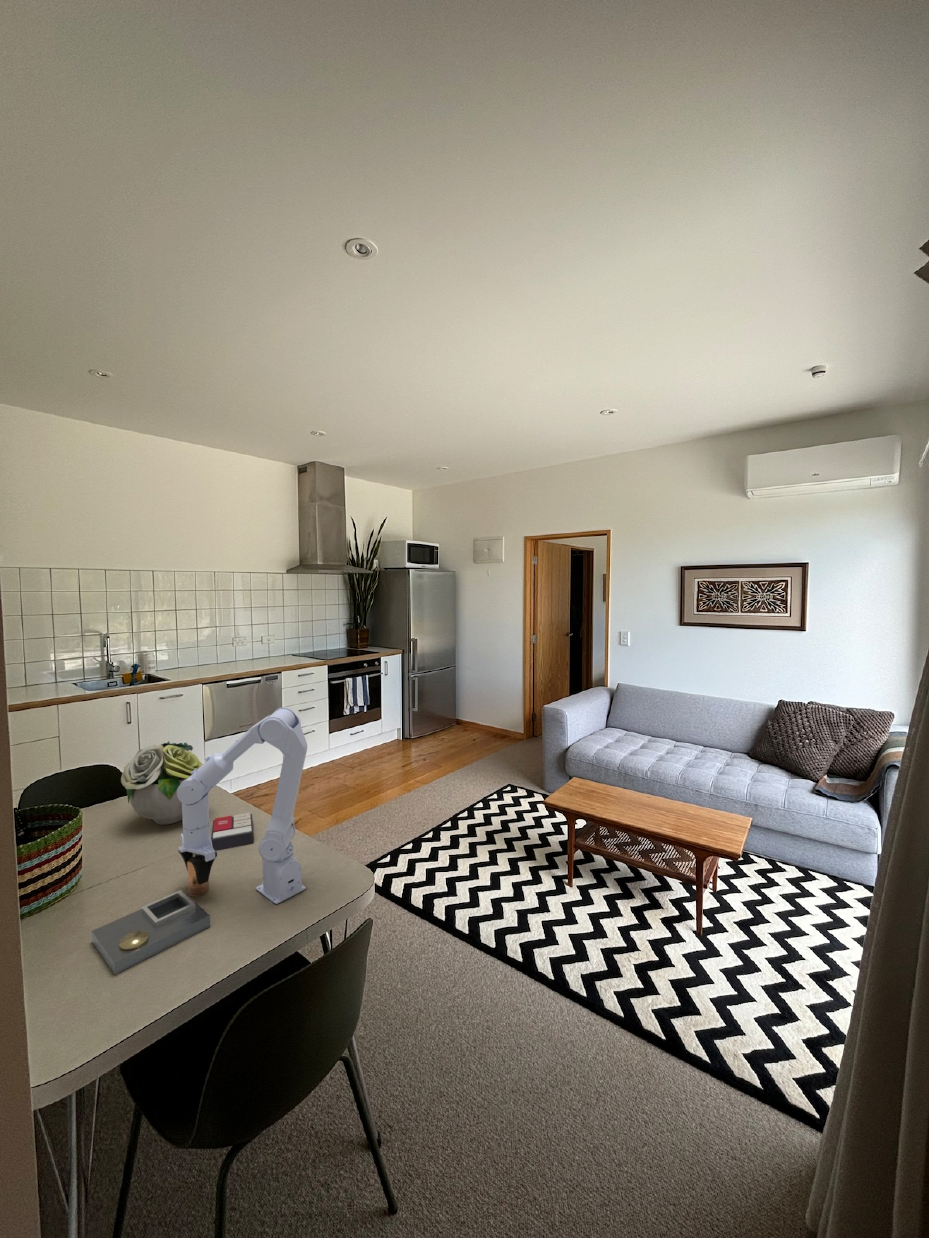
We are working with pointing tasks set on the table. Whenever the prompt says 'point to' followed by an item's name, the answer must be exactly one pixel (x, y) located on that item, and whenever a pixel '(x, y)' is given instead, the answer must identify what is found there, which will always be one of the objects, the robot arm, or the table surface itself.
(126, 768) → the flower arrangement
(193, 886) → the copper cylinder
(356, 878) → the table surface
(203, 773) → the robot arm
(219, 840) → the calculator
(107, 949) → the grey peg holder base
